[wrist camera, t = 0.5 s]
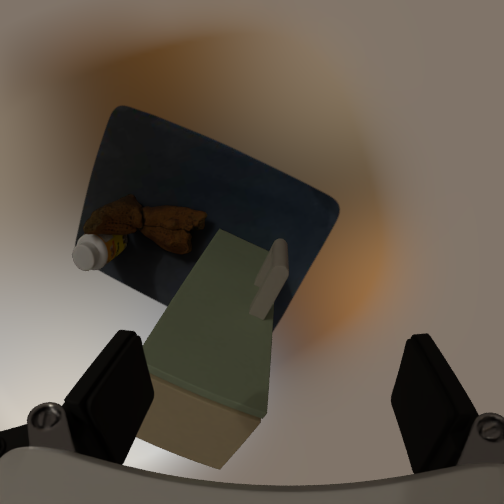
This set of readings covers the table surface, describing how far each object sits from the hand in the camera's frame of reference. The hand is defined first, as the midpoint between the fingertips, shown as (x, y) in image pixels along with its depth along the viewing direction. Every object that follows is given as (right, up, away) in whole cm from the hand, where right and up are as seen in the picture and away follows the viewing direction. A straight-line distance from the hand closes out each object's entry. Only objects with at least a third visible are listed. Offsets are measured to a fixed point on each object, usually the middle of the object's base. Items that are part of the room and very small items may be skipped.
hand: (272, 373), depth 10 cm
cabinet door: (0, +8, +37) cm, 38 cm away
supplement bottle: (-24, +7, +40) cm, 47 cm away
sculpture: (-15, +10, +38) cm, 42 cm away
